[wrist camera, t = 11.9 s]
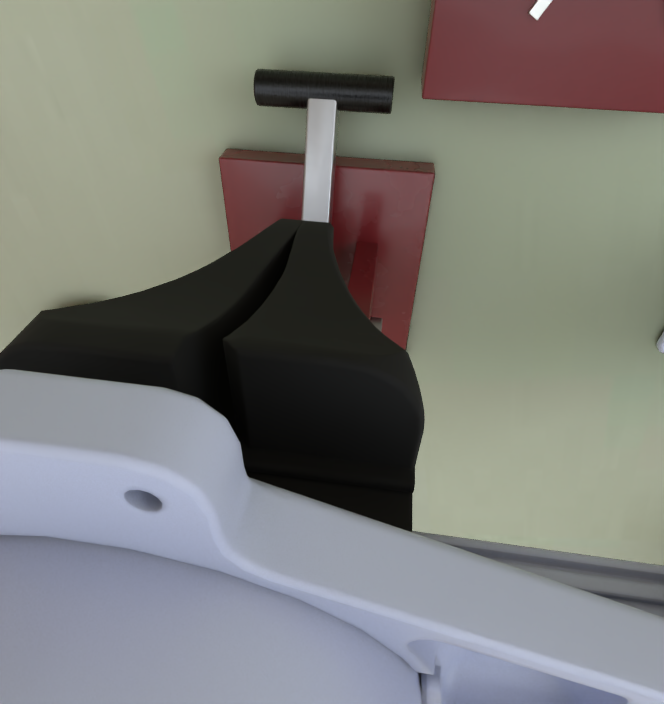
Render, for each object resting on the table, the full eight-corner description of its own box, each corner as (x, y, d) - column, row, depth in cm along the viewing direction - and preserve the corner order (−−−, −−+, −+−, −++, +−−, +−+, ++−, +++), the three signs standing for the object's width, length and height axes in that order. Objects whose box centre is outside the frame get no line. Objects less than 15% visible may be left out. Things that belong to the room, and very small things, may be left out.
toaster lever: (265, 76, 19) (249, 60, 16) (394, 84, 18) (395, 68, 16) (259, 344, 22) (244, 361, 20) (366, 355, 22) (364, 374, 20)
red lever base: (226, 148, 21) (166, 217, 16) (434, 162, 20) (441, 240, 15) (249, 340, 28) (212, 430, 23) (402, 356, 28) (400, 452, 22)
